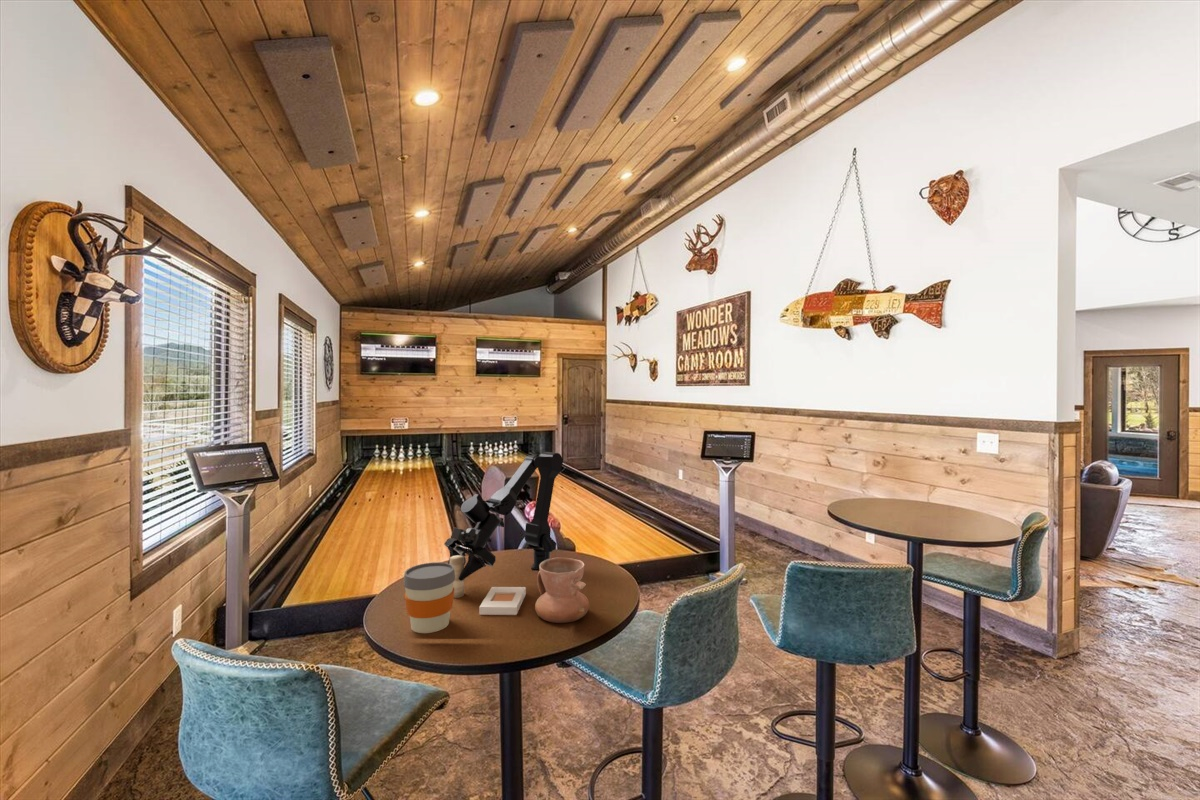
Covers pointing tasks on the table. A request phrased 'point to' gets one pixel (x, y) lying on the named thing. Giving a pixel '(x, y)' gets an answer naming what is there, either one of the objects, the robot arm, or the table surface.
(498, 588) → the frame
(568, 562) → the ceramic jug
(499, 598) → the breaker button
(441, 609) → the reusable coffee cup
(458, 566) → the cream ridged cylinder
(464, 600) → the table surface
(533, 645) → the table surface
